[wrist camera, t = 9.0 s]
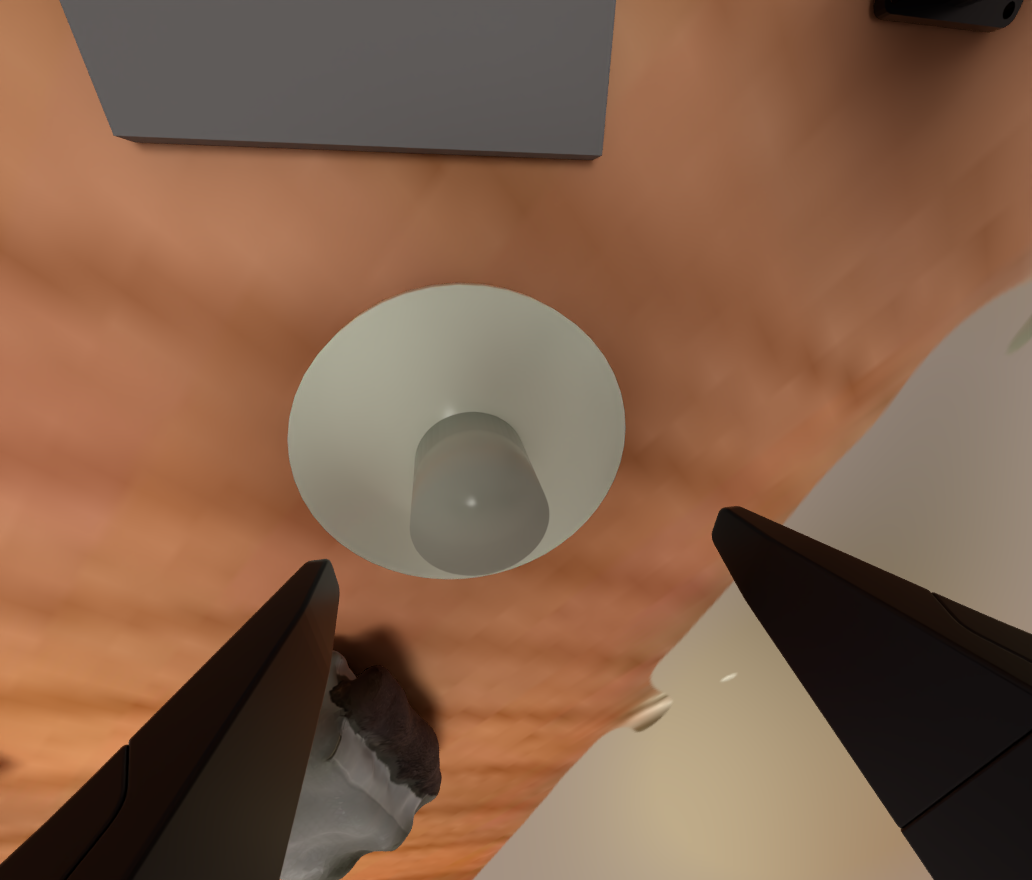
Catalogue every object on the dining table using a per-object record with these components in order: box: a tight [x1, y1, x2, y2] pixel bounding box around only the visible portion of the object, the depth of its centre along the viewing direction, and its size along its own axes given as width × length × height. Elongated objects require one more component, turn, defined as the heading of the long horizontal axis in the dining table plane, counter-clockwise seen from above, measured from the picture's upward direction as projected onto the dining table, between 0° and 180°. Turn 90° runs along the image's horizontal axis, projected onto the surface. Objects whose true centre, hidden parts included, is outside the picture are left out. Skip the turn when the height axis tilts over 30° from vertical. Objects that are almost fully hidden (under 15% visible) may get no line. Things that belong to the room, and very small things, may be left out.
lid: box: [288, 282, 625, 579], centre depth 13 cm, size 12×12×4 cm
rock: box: [280, 650, 442, 880], centre depth 26 cm, size 18×11×8 cm, turn 9°
